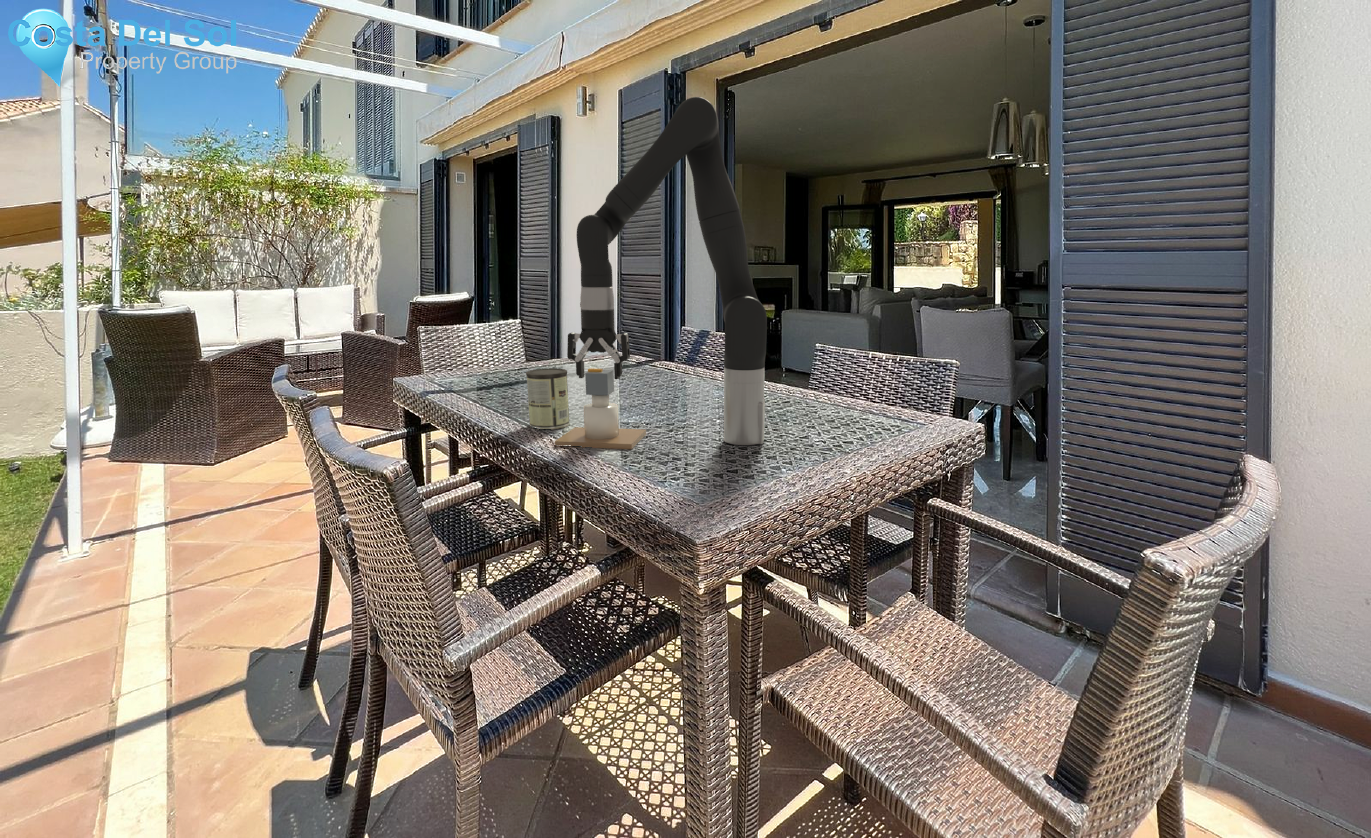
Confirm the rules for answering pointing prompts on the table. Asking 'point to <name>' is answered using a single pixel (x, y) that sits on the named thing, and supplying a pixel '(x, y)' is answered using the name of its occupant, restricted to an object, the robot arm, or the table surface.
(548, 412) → the coffee can
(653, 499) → the table surface
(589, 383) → the grey cube with tab
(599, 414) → the board with white bottle
